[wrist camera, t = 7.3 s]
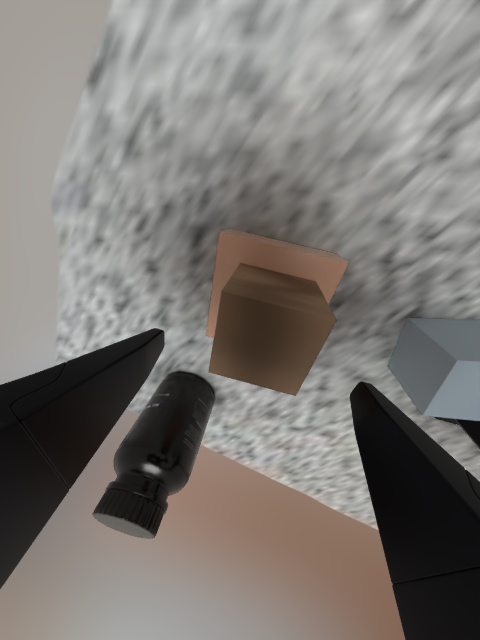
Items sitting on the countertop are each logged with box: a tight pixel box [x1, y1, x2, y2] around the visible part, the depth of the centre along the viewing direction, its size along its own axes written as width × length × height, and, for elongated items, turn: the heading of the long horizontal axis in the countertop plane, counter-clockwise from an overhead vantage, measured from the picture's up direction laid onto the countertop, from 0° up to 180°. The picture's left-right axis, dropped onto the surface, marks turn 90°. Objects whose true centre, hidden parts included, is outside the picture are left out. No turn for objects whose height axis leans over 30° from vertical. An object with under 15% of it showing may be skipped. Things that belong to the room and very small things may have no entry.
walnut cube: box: [209, 263, 337, 396], centre depth 12 cm, size 5×5×5 cm
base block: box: [206, 228, 349, 338], centre depth 15 cm, size 8×8×3 cm
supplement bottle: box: [93, 373, 214, 539], centre depth 19 cm, size 7×7×12 cm
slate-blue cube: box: [388, 318, 480, 421], centre depth 14 cm, size 5×5×5 cm
